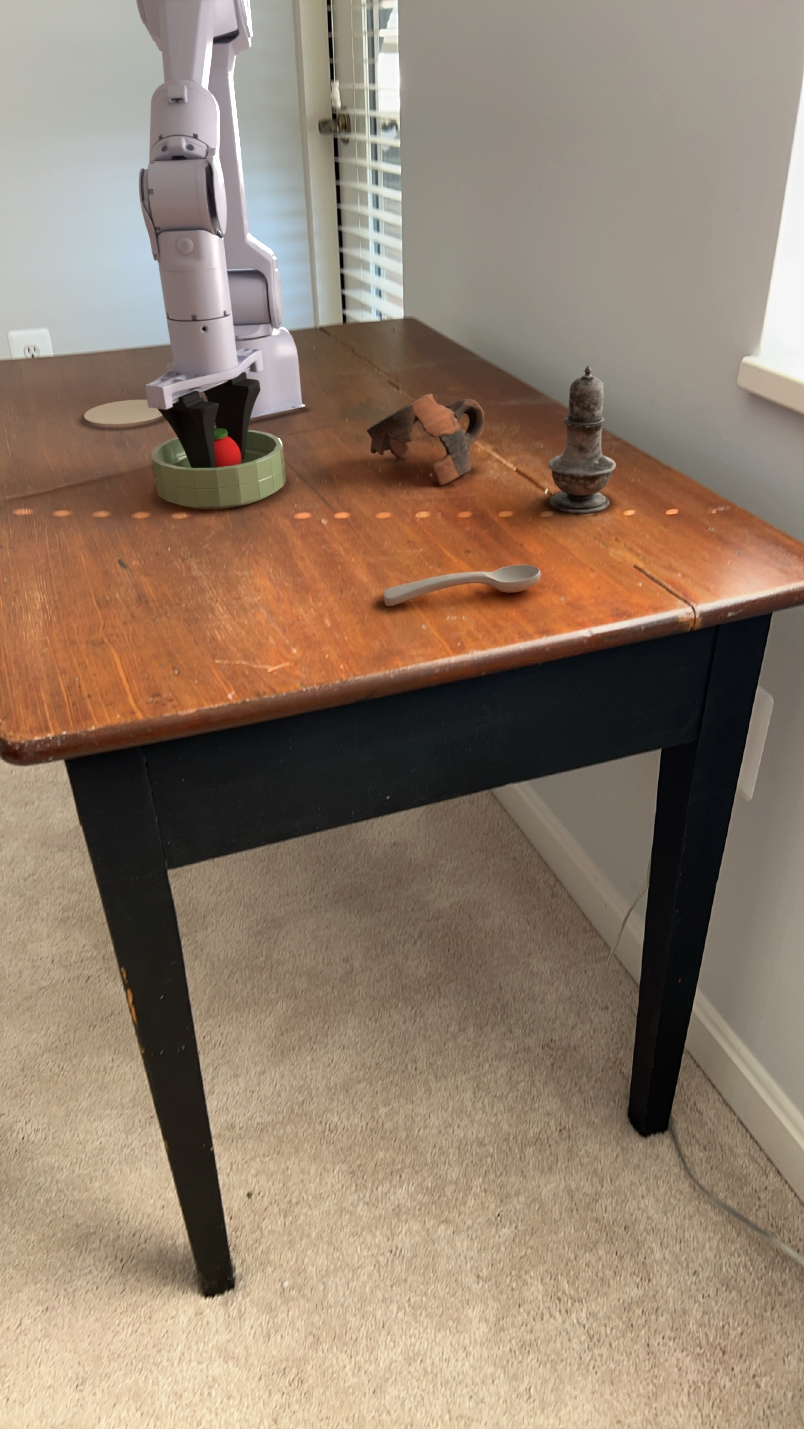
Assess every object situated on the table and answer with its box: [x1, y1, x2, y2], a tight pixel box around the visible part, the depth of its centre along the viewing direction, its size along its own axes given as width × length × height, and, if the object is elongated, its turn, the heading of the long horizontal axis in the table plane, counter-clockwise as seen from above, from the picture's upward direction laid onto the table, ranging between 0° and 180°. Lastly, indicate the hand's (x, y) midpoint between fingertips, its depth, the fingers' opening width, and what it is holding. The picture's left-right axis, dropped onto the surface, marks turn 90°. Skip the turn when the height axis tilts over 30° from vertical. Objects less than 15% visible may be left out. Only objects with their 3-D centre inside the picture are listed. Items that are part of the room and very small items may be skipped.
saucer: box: [83, 399, 163, 425], centre depth 119 cm, size 10×10×1 cm
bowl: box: [150, 429, 287, 510], centre depth 96 cm, size 12×12×4 cm
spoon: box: [382, 564, 542, 607], centre depth 76 cm, size 3×12×2 cm, turn 99°
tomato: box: [214, 427, 241, 468], centre depth 95 cm, size 4×4×5 cm
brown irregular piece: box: [366, 393, 485, 486], centre depth 99 cm, size 12×10×8 cm
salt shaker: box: [547, 365, 617, 514], centre depth 88 cm, size 6×6×12 cm
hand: (219, 465), depth 96 cm, fingers closed on tomato, 4 cm apart
